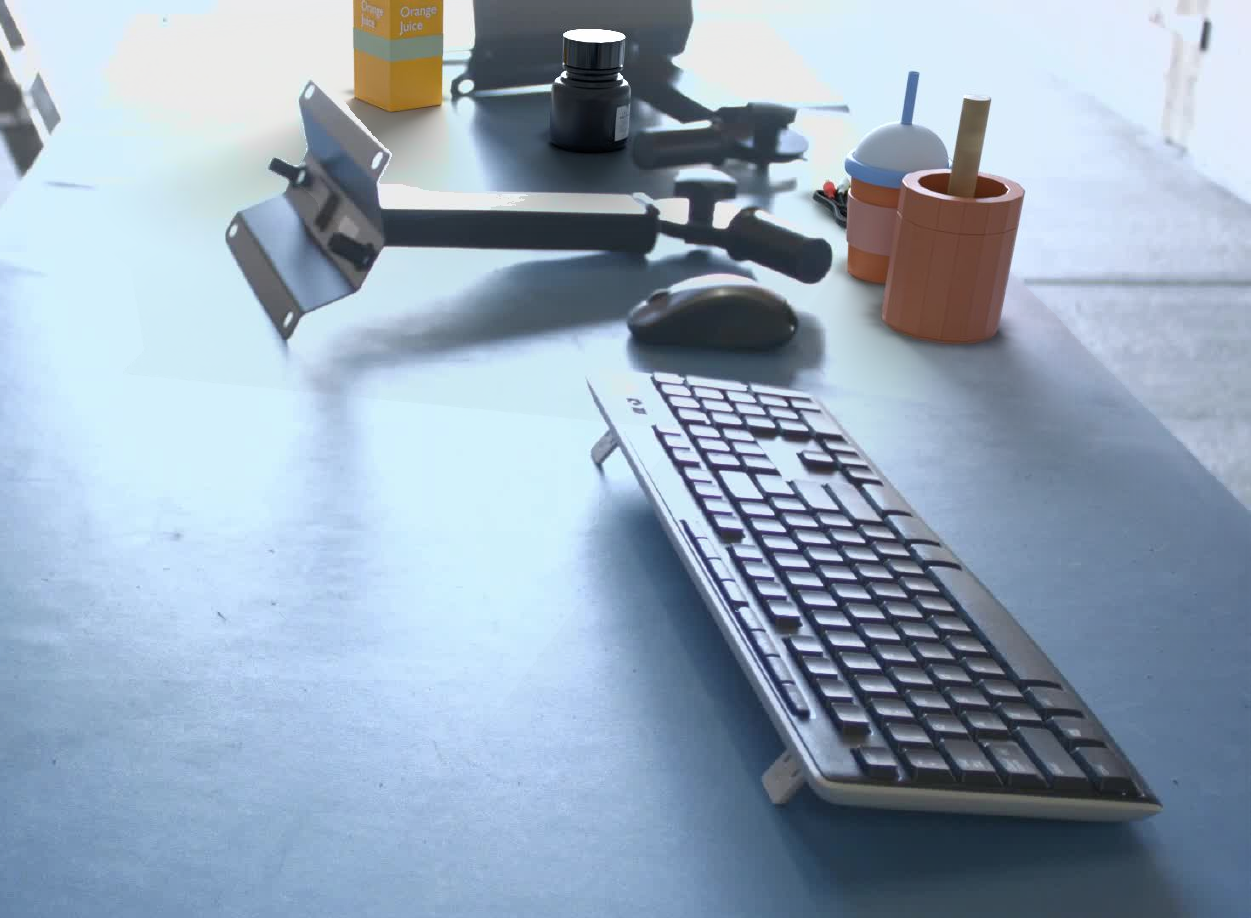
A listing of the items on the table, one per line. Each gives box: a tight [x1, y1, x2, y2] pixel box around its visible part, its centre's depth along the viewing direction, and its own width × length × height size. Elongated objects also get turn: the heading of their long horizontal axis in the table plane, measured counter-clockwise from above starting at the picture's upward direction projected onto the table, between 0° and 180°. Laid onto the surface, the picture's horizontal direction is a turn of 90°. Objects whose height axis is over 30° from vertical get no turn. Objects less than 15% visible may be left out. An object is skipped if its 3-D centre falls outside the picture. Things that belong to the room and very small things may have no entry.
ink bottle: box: [548, 29, 632, 152], centre depth 170 cm, size 10×9×12 cm
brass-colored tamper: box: [947, 93, 992, 198], centre depth 119 cm, size 4×4×18 cm
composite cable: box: [811, 176, 851, 228], centre depth 150 cm, size 10×5×2 cm, turn 168°
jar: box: [880, 169, 1026, 345], centre depth 121 cm, size 9×9×12 cm
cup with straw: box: [844, 70, 953, 285], centre depth 130 cm, size 9×9×18 cm
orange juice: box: [352, 0, 444, 113], centre depth 184 cm, size 8×9×20 cm
